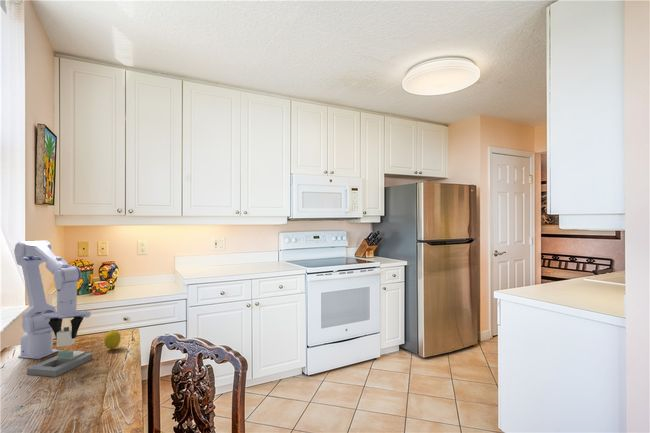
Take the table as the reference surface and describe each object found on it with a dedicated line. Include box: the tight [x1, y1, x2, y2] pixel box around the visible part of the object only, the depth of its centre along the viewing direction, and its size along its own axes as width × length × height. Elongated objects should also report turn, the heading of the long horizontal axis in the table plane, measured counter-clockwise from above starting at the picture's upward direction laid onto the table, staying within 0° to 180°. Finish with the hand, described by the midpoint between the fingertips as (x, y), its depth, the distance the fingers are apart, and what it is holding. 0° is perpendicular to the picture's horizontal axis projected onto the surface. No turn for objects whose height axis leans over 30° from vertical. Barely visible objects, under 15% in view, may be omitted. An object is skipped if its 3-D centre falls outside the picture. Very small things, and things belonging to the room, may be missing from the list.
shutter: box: [56, 349, 87, 360], centre depth 125 cm, size 6×6×3 cm
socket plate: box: [26, 352, 94, 378], centre depth 121 cm, size 11×15×2 cm
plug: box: [56, 326, 76, 348], centre depth 124 cm, size 4×4×6 cm
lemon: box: [103, 329, 121, 351], centre depth 137 cm, size 6×6×8 cm
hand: (66, 338), depth 124 cm, fingers closed on plug, 4 cm apart
